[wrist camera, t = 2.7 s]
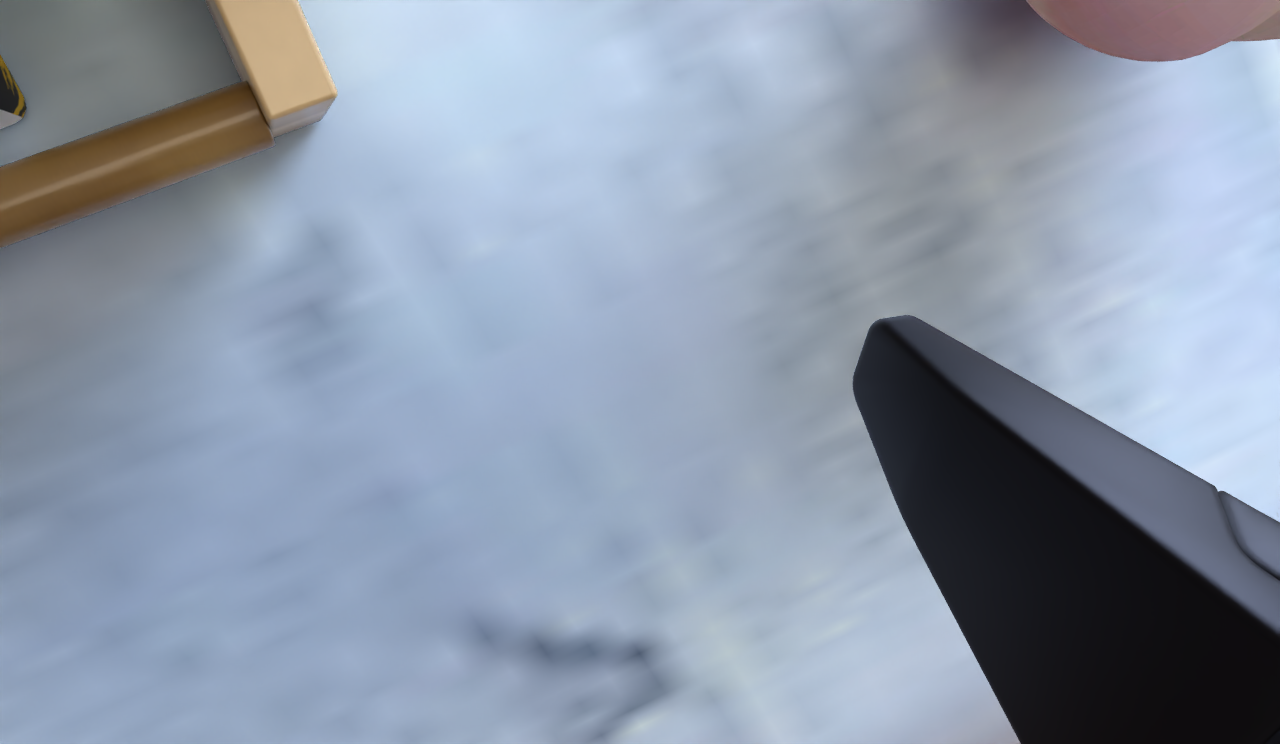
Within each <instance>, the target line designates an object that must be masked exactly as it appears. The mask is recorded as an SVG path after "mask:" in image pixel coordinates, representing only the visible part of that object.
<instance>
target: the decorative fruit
mask: <svg viewBox="0 0 1280 744" xmlns="http://www.w3.org/2000/svg"><path fill="white" fill-rule="evenodd" d="M1026 1H1027V2H1028V4H1029V5H1030V6H1031V7H1032V9H1033V10H1034V11H1035V12H1037V13H1038V14H1039V15H1040V16H1041V17H1042V18H1043V19H1044V20H1045V21H1046V22H1047V23H1049V24H1050V25H1051V26H1053V27H1054V28H1056V29H1057V30H1058V31H1060V32H1061V33H1062V34H1064V35H1065V36H1067V37H1069V38H1071V39H1073V40H1075V41H1076V42H1078V43H1080V44H1082V45H1084V46H1086V47H1088V48H1091V49H1094V50H1096V51H1099V52H1102V53H1105V54H1108V55H1111V56H1115V57H1120V58H1125V59H1131V60H1137V61H1174V60H1183V59H1186V58H1190V57H1193V56H1197V55H1200V54H1203V53H1206V52H1208V51H1210V50H1212V49H1215V48H1217V47H1219V46H1221V45H1223V44H1226V43H1228V42H1230V41H1261V40H1270V39H1280V0H1026Z"/></svg>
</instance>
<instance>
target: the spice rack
mask: <svg viewBox="0 0 1280 744" xmlns="http://www.w3.org/2000/svg"><path fill="white" fill-rule="evenodd" d="M204 1H205V3H206V5H207V7H208V9H209V11H210V14H211V16H212V18H213V20H214V22H215V24H216V27H217V29H218V31H219V33H220V35H221V37H222V40H223V42H224V44H225V46H226V48H227V50H228V53H229V55H230V57H231V59H232V61H233V64H234V66H235V68H236V70H237V72H238V74H239V77H240V79H241V82H238V83H235V84H233V85H230V86H227V87H224V88H221V89H218V90H216V91H213V92H210V93H207V94H204V95H202V96H199V97H196V98H193V99H190V100H187V101H185V102H182V103H179V104H176V105H173V106H170V107H168V108H165V109H162V110H159V111H156V112H153V113H151V114H148V115H145V116H142V117H139V118H136V119H134V120H131V121H128V122H125V123H122V124H120V125H117V126H114V127H111V128H108V129H105V130H103V131H100V132H97V133H94V134H91V135H88V136H86V137H83V138H80V139H77V140H74V141H71V142H69V143H66V144H63V145H60V146H57V147H54V148H52V149H49V150H46V151H43V152H40V153H38V154H35V155H32V156H29V157H26V158H23V159H21V160H18V161H15V162H12V163H9V164H6V165H4V166H1V167H0V248H3V247H6V246H8V245H11V244H14V243H17V242H19V241H22V240H25V239H27V238H30V237H33V236H35V235H38V234H41V233H43V232H46V231H49V230H51V229H54V228H57V227H60V226H62V225H65V224H68V223H70V222H73V221H76V220H78V219H81V218H84V217H86V216H89V215H92V214H94V213H97V212H100V211H102V210H105V209H108V208H111V207H113V206H116V205H119V204H121V203H124V202H127V201H129V200H132V199H135V198H137V197H140V196H143V195H145V194H148V193H151V192H154V191H156V190H159V189H162V188H164V187H167V186H170V185H172V184H175V183H178V182H180V181H183V180H186V179H188V178H191V177H194V176H196V175H199V174H202V173H205V172H207V171H210V170H213V169H215V168H218V167H221V166H223V165H226V164H229V163H231V162H234V161H237V160H239V159H242V158H245V157H247V156H250V155H253V154H256V153H258V152H261V151H264V150H266V149H269V148H272V147H274V146H275V141H274V138H275V137H277V136H280V135H283V134H285V133H288V132H291V131H294V130H296V129H299V128H302V127H304V126H307V125H310V124H312V123H315V122H318V121H320V120H321V119H322V118H323V117H324V115H325V114H326V112H327V111H328V109H329V108H330V106H331V104H332V103H333V101H334V100H335V98H336V97H337V89H336V87H335V85H334V82H333V80H332V78H331V75H330V73H329V71H328V69H327V66H326V64H325V62H324V59H323V57H322V55H321V52H320V50H319V48H318V46H317V43H316V41H315V39H314V36H313V34H312V32H311V30H310V27H309V25H308V23H307V20H306V18H305V16H304V14H303V11H302V9H301V7H300V4H299V2H298V0H204Z"/></svg>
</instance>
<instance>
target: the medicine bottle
mask: <svg viewBox="0 0 1280 744" xmlns="http://www.w3.org/2000/svg"><path fill="white" fill-rule="evenodd" d="M25 111H26V104H25V100H24V97H23V95H22V93H21V91H20V89H19V88H18V86H17V84H16V82H15V80H14V79H13V77H12V75H11V73H10V71H9V70H8V68H7V66H6V64H5V62H4V61H3V59H2V57H1V55H0V129H2V128H5V127H8V126H10V125H13V124H15V123H16V122H18V121H19V120H20V119H22V118H23V116H24V114H25Z"/></svg>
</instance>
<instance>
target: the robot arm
mask: <svg viewBox="0 0 1280 744" xmlns="http://www.w3.org/2000/svg"><path fill="white" fill-rule="evenodd" d="M853 392H854V396H855V400H856V402H857V405H858V407H859V410H860V412H861V415H862V418H863V420H864V423H865V425H866V428H867V430H868V433H869V435H870V438H871V440H872V443H873V446H874V448H875V451H876V453H877V456H878V458H879V461H880V463H881V466H882V468H883V471H884V474H885V476H886V479H887V481H888V484H889V486H890V489H891V491H892V494H893V496H894V499H895V501H896V503H897V506H898V508H899V510H900V513H901V515H902V517H903V519H904V521H905V523H906V525H907V527H908V529H909V532H910V534H911V536H912V538H913V539H914V541H915V543H916V545H917V547H918V549H919V551H920V553H921V555H922V557H923V558H924V560H925V562H926V564H927V566H928V568H929V570H930V572H931V574H932V576H933V577H934V579H935V581H936V583H937V585H938V587H939V589H940V591H941V593H942V595H943V596H944V598H945V600H946V602H947V604H948V606H949V608H950V610H951V612H952V614H953V616H954V617H955V619H956V621H957V623H958V625H959V627H960V629H961V631H962V633H963V635H964V636H965V638H966V640H967V642H968V644H969V646H970V648H971V650H972V652H973V654H974V655H975V657H976V659H977V661H978V663H979V665H980V667H981V669H982V671H983V673H984V674H985V676H986V678H987V680H988V682H989V684H990V686H991V688H992V690H993V692H994V694H995V695H996V697H997V699H998V701H999V703H1000V705H1001V707H1002V709H1003V711H1004V713H1005V714H1006V716H1007V718H1008V720H1009V722H1010V724H1011V726H1012V728H1013V730H1014V732H1015V733H1016V735H1017V737H1018V739H1019V741H1020V743H1021V744H1280V522H1278V521H1276V520H1274V519H1272V518H1271V517H1269V516H1267V515H1265V514H1263V513H1261V512H1260V511H1258V510H1256V509H1254V508H1252V507H1251V506H1249V505H1247V504H1245V503H1244V502H1242V501H1240V500H1238V499H1237V498H1235V497H1233V496H1231V495H1230V494H1228V493H1226V492H1224V491H1219V492H1218V491H1217V489H1216V487H1215V486H1213V485H1212V484H1210V483H1208V482H1206V481H1205V480H1203V479H1201V478H1199V477H1198V476H1196V475H1194V474H1192V473H1190V472H1189V471H1187V470H1185V469H1183V468H1182V467H1180V466H1178V465H1176V464H1175V463H1173V462H1171V461H1169V460H1168V459H1166V458H1164V457H1162V456H1160V455H1159V454H1157V453H1155V452H1153V451H1152V450H1150V449H1148V448H1146V447H1145V446H1143V445H1141V444H1139V443H1137V442H1136V441H1134V440H1132V439H1130V438H1129V437H1127V436H1125V435H1123V434H1122V433H1120V432H1118V431H1116V430H1115V429H1113V428H1111V427H1109V426H1107V425H1106V424H1104V423H1102V422H1100V421H1099V420H1097V419H1095V418H1093V417H1092V416H1090V415H1088V414H1086V413H1084V412H1083V411H1081V410H1079V409H1077V408H1076V407H1074V406H1072V405H1070V404H1069V403H1067V402H1065V401H1063V400H1062V399H1060V398H1058V397H1056V396H1054V395H1053V394H1051V393H1049V392H1047V391H1046V390H1044V389H1042V388H1040V387H1039V386H1037V385H1035V384H1033V383H1031V382H1030V381H1028V380H1026V379H1024V378H1023V377H1021V376H1019V375H1017V374H1016V373H1014V372H1012V371H1010V370H1009V369H1007V368H1005V367H1003V366H1001V365H1000V364H998V363H996V362H994V361H993V360H991V359H989V358H987V357H986V356H984V355H982V354H980V353H978V352H977V351H975V350H973V349H971V348H970V347H968V346H966V345H964V344H963V343H961V342H959V341H957V340H956V339H954V338H952V337H950V336H948V335H947V334H945V333H943V332H941V331H940V330H938V329H936V328H934V327H933V326H931V325H929V324H927V323H925V322H924V321H922V320H920V319H918V318H916V317H914V316H910V315H903V316H897V317H890V318H883V319H879V320H877V321H875V322H874V323H873V324H872V325H871V326H870V328H869V331H868V333H867V336H866V339H865V342H864V345H863V348H862V351H861V354H860V357H859V360H858V363H857V366H856V369H855V372H854V375H853Z"/></svg>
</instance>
